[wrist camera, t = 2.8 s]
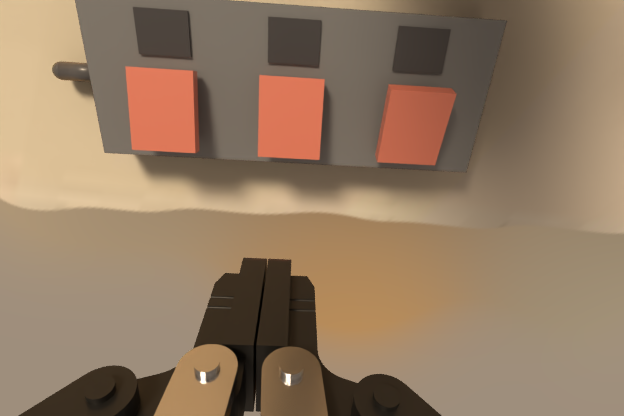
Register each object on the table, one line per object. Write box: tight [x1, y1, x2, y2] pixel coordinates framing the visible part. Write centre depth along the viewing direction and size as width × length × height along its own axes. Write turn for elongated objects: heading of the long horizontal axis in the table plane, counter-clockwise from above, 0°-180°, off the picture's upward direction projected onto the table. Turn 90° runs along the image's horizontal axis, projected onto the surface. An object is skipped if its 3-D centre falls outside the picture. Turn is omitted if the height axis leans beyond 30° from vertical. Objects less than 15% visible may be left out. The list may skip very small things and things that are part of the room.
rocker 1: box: [125, 66, 199, 153], centre depth 24 cm, size 4×5×1 cm
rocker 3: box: [375, 84, 456, 165], centre depth 25 cm, size 4×5×1 cm
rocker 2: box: [258, 75, 325, 160], centre depth 24 cm, size 4×5×1 cm
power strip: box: [52, 0, 507, 172], centre depth 26 cm, size 30×10×4 cm, turn 86°
